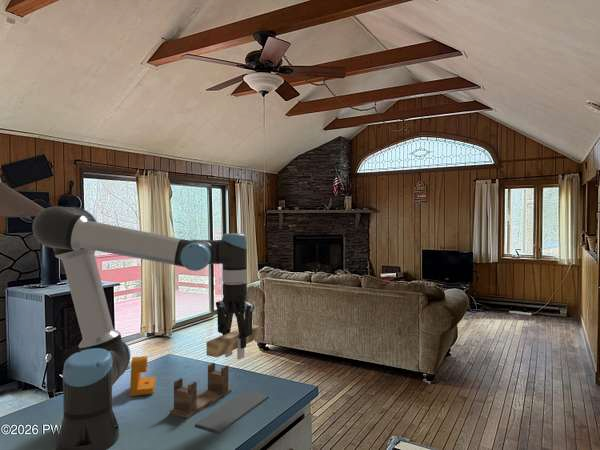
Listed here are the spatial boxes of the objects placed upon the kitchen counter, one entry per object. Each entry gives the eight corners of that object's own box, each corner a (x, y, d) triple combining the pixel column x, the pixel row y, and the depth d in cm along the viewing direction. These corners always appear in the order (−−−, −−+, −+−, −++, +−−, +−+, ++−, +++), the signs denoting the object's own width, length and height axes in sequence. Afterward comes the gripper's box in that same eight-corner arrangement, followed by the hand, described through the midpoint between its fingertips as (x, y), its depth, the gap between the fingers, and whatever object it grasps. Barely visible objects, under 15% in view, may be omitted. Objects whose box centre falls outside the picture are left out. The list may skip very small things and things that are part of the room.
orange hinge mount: (152, 396, 139) (152, 360, 139) (130, 398, 137) (130, 362, 137) (155, 383, 149) (155, 351, 149) (134, 385, 147) (134, 352, 147)
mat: (219, 433, 114) (219, 430, 114) (195, 425, 119) (195, 423, 119) (268, 397, 138) (268, 395, 138) (246, 392, 142) (246, 390, 142)
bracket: (186, 418, 123) (186, 387, 123) (169, 413, 126) (169, 382, 126) (231, 391, 142) (231, 364, 142) (215, 387, 145) (215, 361, 145)
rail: (217, 357, 117) (217, 343, 117) (206, 355, 119) (206, 341, 119) (259, 337, 137) (259, 326, 137) (249, 336, 139) (249, 324, 139)
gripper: (264, 283, 127) (264, 357, 127) (220, 279, 135) (220, 349, 135) (250, 286, 120) (250, 365, 121) (205, 282, 128) (205, 356, 129)
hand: (234, 356), depth 128 cm, fingers closed on rail, 4 cm apart
